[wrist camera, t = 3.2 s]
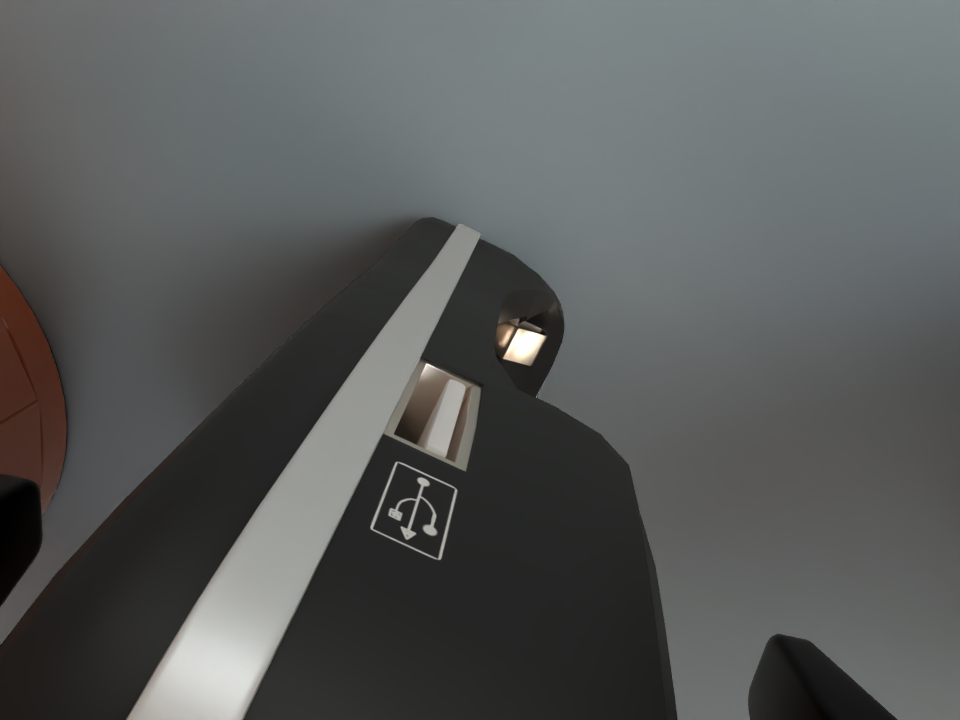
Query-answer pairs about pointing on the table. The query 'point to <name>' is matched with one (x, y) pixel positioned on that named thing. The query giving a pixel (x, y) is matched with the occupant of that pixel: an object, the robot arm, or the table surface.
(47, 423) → the terracotta pot
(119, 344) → the table surface
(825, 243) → the table surface
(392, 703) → the battery charger
